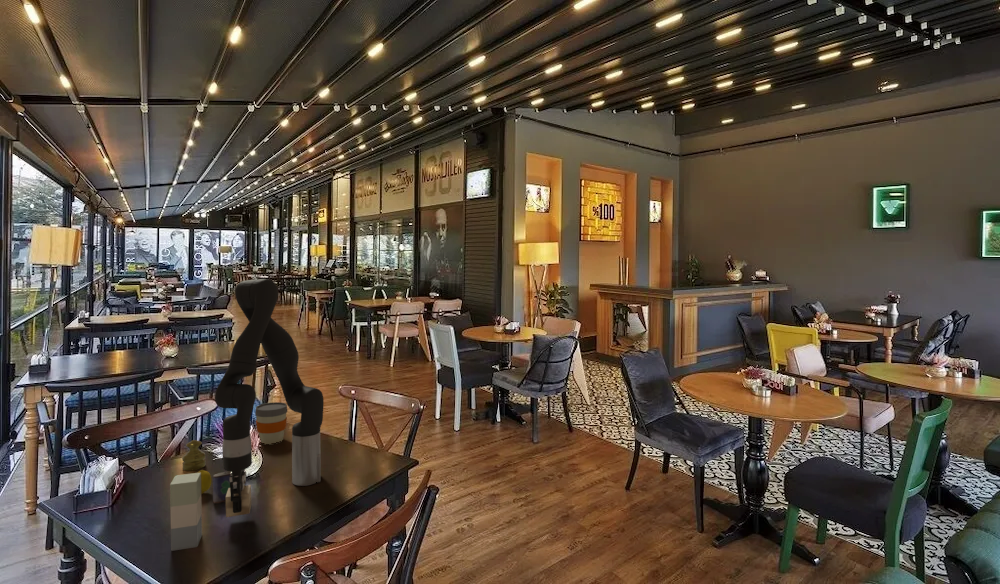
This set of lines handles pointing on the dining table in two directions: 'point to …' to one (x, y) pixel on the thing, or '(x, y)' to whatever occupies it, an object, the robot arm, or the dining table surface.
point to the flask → (221, 486)
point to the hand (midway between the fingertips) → (238, 506)
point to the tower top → (185, 489)
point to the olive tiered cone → (194, 457)
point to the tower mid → (186, 515)
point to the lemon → (205, 481)
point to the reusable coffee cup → (271, 421)
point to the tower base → (186, 536)
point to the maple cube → (245, 502)
